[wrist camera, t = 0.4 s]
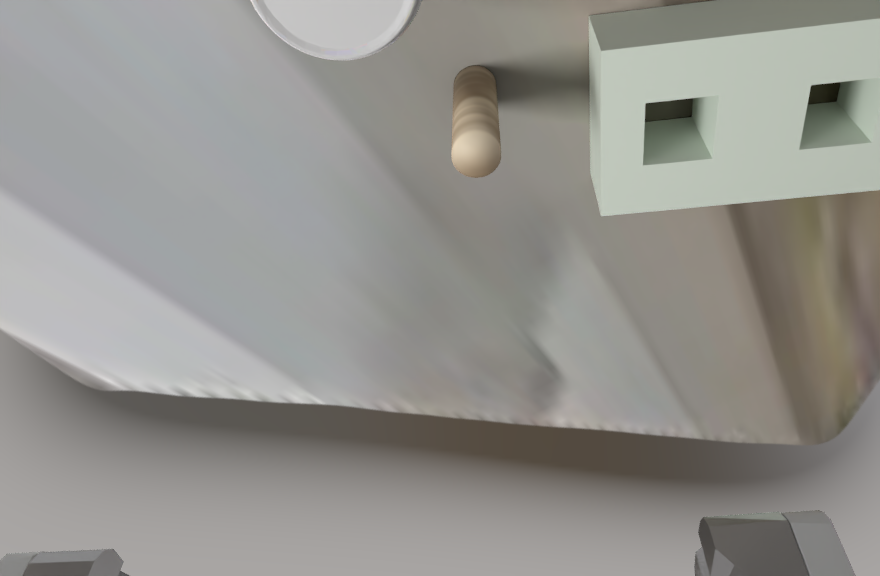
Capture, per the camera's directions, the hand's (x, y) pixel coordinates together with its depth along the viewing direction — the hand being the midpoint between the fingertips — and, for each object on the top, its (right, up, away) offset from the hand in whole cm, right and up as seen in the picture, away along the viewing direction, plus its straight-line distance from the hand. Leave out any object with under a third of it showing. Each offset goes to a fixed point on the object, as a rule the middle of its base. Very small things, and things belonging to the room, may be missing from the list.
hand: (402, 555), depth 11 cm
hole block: (+21, +18, +42) cm, 51 cm away
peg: (+3, +18, +43) cm, 47 cm away
